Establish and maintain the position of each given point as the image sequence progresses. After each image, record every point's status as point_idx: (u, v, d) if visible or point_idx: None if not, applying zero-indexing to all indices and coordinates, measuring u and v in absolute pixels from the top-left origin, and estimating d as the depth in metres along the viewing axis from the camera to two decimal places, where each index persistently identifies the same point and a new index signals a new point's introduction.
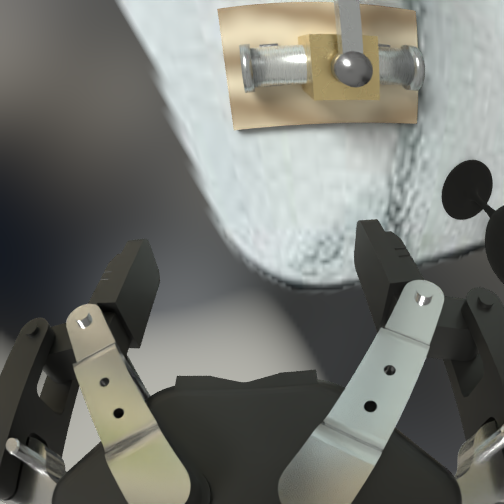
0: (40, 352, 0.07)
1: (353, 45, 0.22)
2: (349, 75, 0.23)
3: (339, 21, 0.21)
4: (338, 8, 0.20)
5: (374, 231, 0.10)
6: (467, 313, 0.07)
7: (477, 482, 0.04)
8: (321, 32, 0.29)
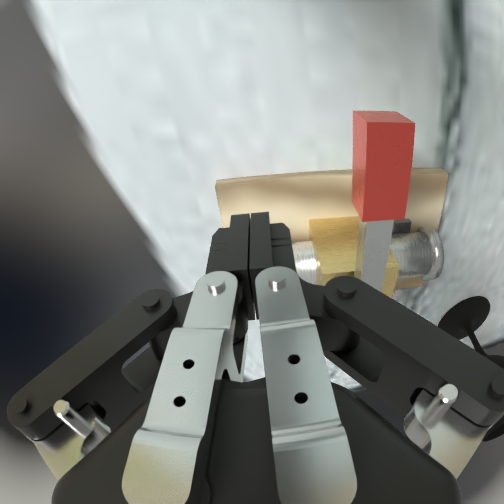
0: (145, 331, 0.08)
1: None
2: None
3: None
4: (361, 266, 0.21)
5: (259, 222, 0.12)
6: (334, 310, 0.08)
7: (447, 447, 0.05)
8: (336, 213, 0.30)
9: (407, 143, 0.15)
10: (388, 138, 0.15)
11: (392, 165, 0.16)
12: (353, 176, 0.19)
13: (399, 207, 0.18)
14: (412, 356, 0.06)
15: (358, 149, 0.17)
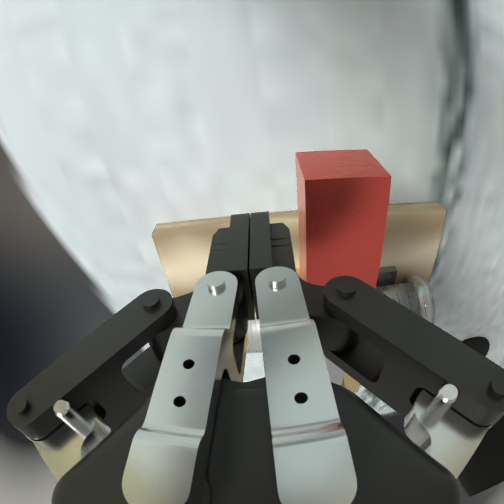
0: (145, 331, 0.08)
1: None
2: None
3: None
4: None
5: (259, 222, 0.12)
6: (334, 310, 0.08)
7: (448, 447, 0.05)
8: None
9: (377, 209, 0.10)
10: (343, 204, 0.10)
11: (351, 243, 0.11)
12: (299, 246, 0.14)
13: None
14: (412, 356, 0.06)
15: (301, 214, 0.12)
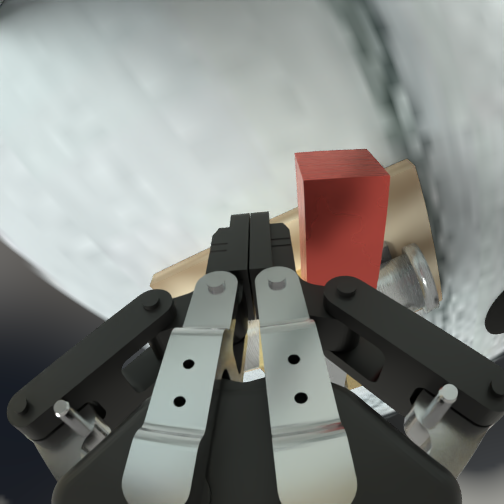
0: (145, 331, 0.08)
1: None
2: None
3: None
4: None
5: (259, 222, 0.12)
6: (334, 310, 0.08)
7: (448, 447, 0.05)
8: None
9: (376, 209, 0.10)
10: (343, 203, 0.10)
11: (351, 243, 0.11)
12: (300, 247, 0.14)
13: None
14: (412, 356, 0.06)
15: (300, 215, 0.12)
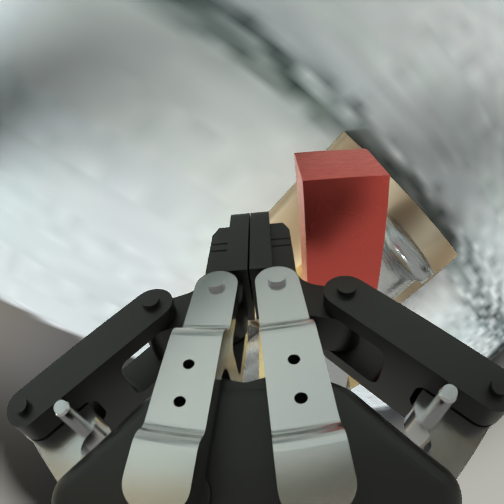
0: (145, 331, 0.08)
1: None
2: None
3: None
4: None
5: (259, 222, 0.12)
6: (334, 310, 0.08)
7: (448, 447, 0.05)
8: None
9: (376, 208, 0.10)
10: (343, 204, 0.10)
11: (351, 243, 0.11)
12: (301, 247, 0.14)
13: None
14: (412, 356, 0.06)
15: (301, 215, 0.12)
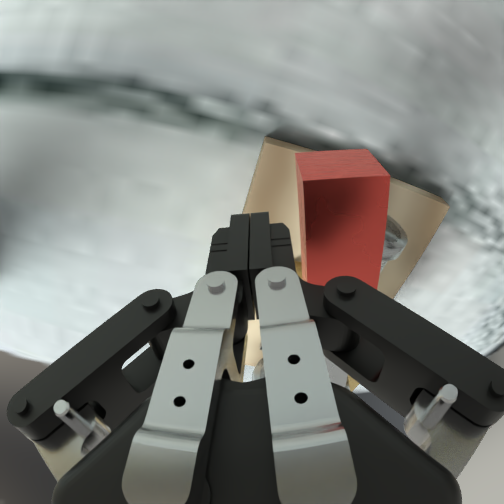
0: (145, 332, 0.08)
1: None
2: None
3: None
4: None
5: (259, 222, 0.12)
6: (334, 310, 0.08)
7: (448, 447, 0.05)
8: None
9: (377, 209, 0.10)
10: (343, 204, 0.10)
11: (351, 243, 0.11)
12: (301, 247, 0.14)
13: None
14: (412, 356, 0.06)
15: (301, 215, 0.12)
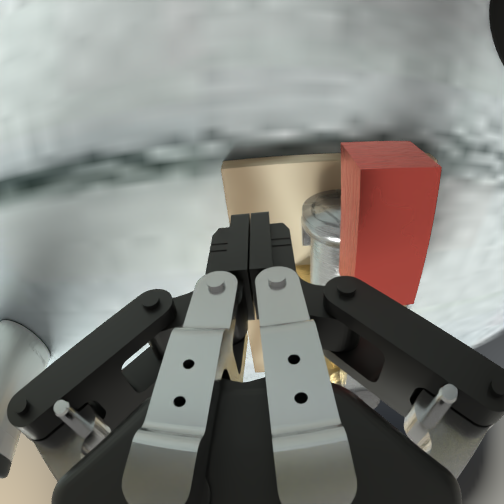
0: (145, 331, 0.08)
1: (360, 387, 0.17)
2: None
3: None
4: None
5: (259, 222, 0.12)
6: (334, 310, 0.08)
7: (448, 446, 0.05)
8: None
9: (427, 200, 0.09)
10: (396, 194, 0.09)
11: (401, 235, 0.10)
12: (341, 240, 0.13)
13: (407, 290, 0.12)
14: (412, 356, 0.06)
15: (348, 206, 0.11)
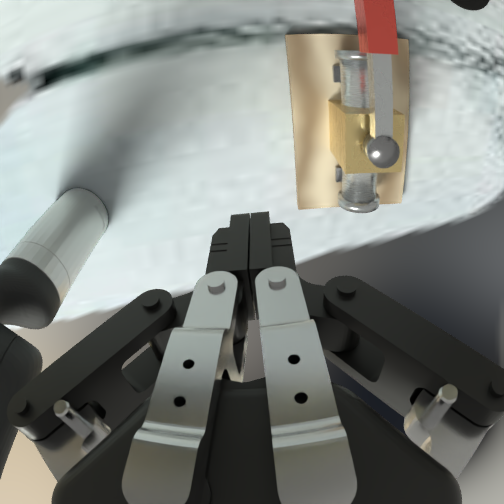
0: (145, 331, 0.08)
1: (384, 131, 0.27)
2: (379, 158, 0.28)
3: (374, 108, 0.26)
4: (373, 95, 0.25)
5: (259, 222, 0.12)
6: (334, 310, 0.08)
7: (447, 447, 0.05)
8: (325, 129, 0.37)
9: (389, 4, 0.19)
10: None
11: (382, 16, 0.20)
12: (358, 33, 0.23)
13: (392, 45, 0.21)
14: (412, 356, 0.06)
15: (359, 11, 0.21)
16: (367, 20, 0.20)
